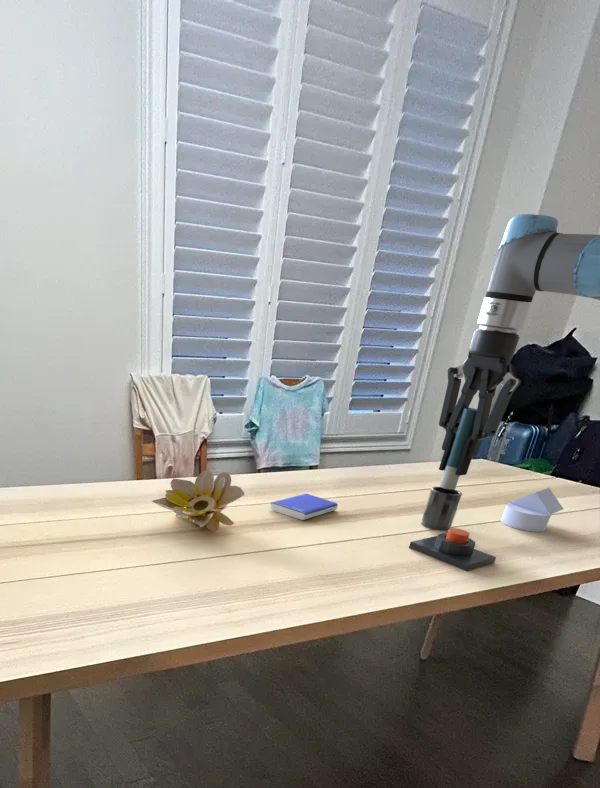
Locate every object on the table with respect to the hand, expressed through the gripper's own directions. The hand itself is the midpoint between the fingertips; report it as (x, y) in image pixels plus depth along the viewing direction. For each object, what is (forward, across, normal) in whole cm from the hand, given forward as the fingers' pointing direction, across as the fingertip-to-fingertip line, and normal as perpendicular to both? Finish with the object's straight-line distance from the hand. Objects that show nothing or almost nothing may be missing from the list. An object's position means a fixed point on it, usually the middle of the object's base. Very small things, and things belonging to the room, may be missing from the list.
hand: (452, 471), depth 122 cm
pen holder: (+11, 0, 0) cm, 11 cm away
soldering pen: (+3, 0, 0) cm, 3 cm away
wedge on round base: (+11, +7, +24) cm, 27 cm away
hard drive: (+11, -18, -20) cm, 29 cm away
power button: (+8, +12, -13) cm, 19 cm away
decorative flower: (+11, -20, -47) cm, 52 cm away
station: (+11, +12, -13) cm, 21 cm away
